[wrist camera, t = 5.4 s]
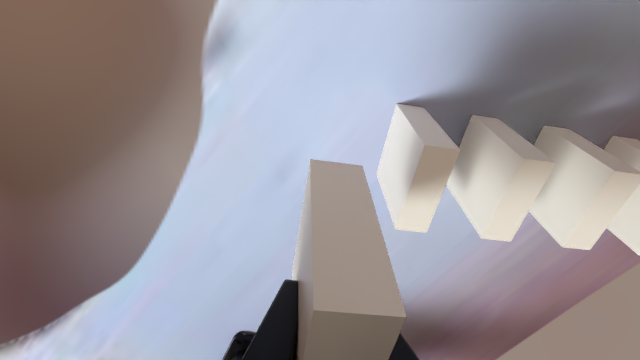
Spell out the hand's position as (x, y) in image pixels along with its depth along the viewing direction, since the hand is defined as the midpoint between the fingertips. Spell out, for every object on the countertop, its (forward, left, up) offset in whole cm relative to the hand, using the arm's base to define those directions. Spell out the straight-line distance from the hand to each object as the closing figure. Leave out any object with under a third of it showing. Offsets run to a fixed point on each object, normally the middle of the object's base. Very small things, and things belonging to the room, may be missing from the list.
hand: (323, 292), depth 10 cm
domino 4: (+4, -13, -12) cm, 18 cm away
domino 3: (+3, -9, -12) cm, 15 cm away
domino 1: (+1, 0, -2) cm, 2 cm away
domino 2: (+1, -5, -12) cm, 13 cm away
